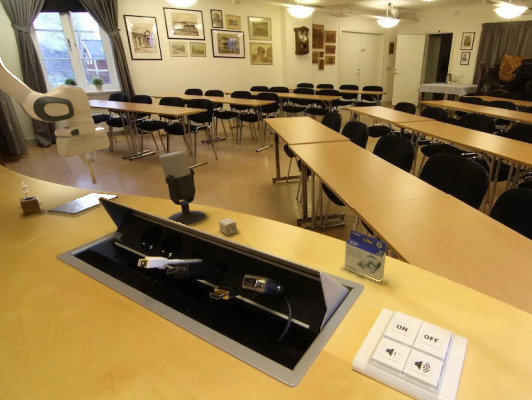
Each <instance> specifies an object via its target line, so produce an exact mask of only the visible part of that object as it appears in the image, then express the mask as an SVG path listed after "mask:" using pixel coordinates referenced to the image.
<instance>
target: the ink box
mask: <svg viewBox="0 0 532 400" xmlns="http://www.w3.org/2000/svg"><path fill="white" fill-rule="evenodd" d="M349 231H350V232H349V238H348V239H347V240H346V241H345V250H344V264H343V265H344V269H346V270H348V271H349V272H352V273H354V274H356V275H359V276H360V277H363V278H365V279H367V280H369V281H371V282H373V283H376V284H378V285H380V284H381V283H382V282H383V281H384V276H385V267H386V255H387V247H388V243H387V242H386V241H384V240H380V239H377V238H375V237H372V236H370V235H368V234H364V233H361V232H359V231H356V230H354V229H350V230H349ZM367 240H368V241H367ZM360 273H361V274H360ZM363 274H364V275H363ZM365 275H367V276H369V277H372V278H375V279H377V280H381V279H382V278H383V279H382V280H381V281H376V280H374V279H372V278H369V277H367V276H365Z"/></svg>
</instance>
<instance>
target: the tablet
mask: <svg viewBox="0 0 532 400" xmlns="http://www.w3.org/2000/svg"><path fill="white" fill-rule="evenodd" d="M100 197H104V198H107V199H110V200H109V201H111V200H113V199H118V195H112V194H103V193H90V194H86V195H84V196H81V197H79V198H76V199H74V200H71V201H68V202H65V203H64V204H61V205H58V206H56V207H53V208H50V209H48V210H47V212H49V213H56V214H58V213H59V214H67V215H75V216H76V215H78V214H80V213H83V212H86V211H88V210H90V209H92V208H94V207H97V206H99V205H101V204H100V203H99V200H98V199H99V198H100Z"/></svg>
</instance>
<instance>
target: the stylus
mask: <svg viewBox="0 0 532 400" xmlns="http://www.w3.org/2000/svg"><path fill="white" fill-rule="evenodd" d="M86 158H87V159H89V160H90V161H89V162H90V163H89V164H87V165H88V170H89V174H90V178H91V182H92V185H96V184H97V183H98V182H97V178H96V173H95V169H94V165H93V163H92V161H91V157H90V155H86Z"/></svg>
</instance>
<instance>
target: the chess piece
mask: <svg viewBox="0 0 532 400" xmlns="http://www.w3.org/2000/svg"><path fill="white" fill-rule="evenodd" d="M21 183H22V185H21V186H20V188H21V190H22V192H21V193H22V194H24V198H26V197H31V196H30V195H29V193H30V190H28V185H27V184H25V182H24V181H23V180H22V181H21Z"/></svg>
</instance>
